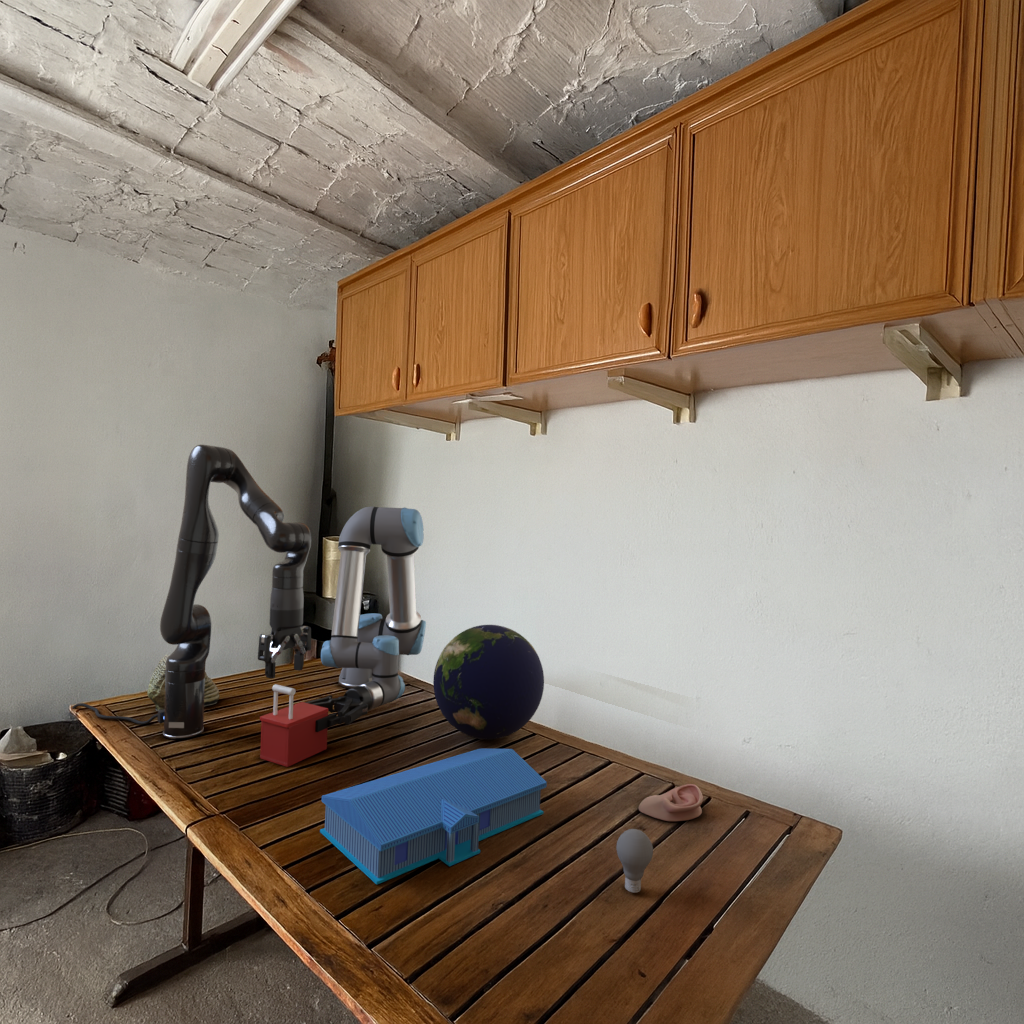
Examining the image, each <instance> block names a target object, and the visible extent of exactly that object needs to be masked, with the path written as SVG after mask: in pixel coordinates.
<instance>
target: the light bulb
mask: <svg viewBox="0 0 1024 1024" xmlns="http://www.w3.org/2000/svg"><path fill="white" fill-rule="evenodd" d="M615 849H616V854H617V857H618V859H619V861H620V863H621V865H622V867H623V873H624V874H623V875H624V876H625V878H624V888H625V890H627V891H628V892H630V893H634V894H635V893H639V892H640V891H641V889H642V887H641V886H642V879H643V877H644V875H645V871H646V868H647V867H648V866H649V864H650V863H651V861H652V859H653V855H654V847H653V843H652V841H651V838H649V836H648V835H647V834H646V833H645V832H643V831H642V830H641V829H636V828H629V829H627V830H625V831H623V832H622V833H621V834H620V835H619V837H618V839H617V841H616V847H615Z"/></svg>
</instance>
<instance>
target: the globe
mask: <svg viewBox="0 0 1024 1024" xmlns="http://www.w3.org/2000/svg"><path fill="white" fill-rule="evenodd" d="M433 671H434V672H433V680H432V681H433V682H432V683H433V693H434V697H435V701H436V704H437V707H438V709H439V710H440V712H441V714H442V715H443V717H444V718H445V720H446V721H447V722H448V723H449V724H450V725H451V726H452V727H453V728H455V730H458V731H459V732H460V733H462V734H463V735H466V736H469V737H471V738H475V739H478V740H497V739H501V738H505V737H508V736H510V735H512V734H514V733H516V732H518V731H519V730H521V729H522V728H523V727H525V725H527V724H528V723H529V722H530V720H531V719H533V717H534V715H535V714H536V712H537V711H538V708H539V706H540V704H541V701H542V699H543V694H544V689H545V675H544V668H543V665H542V662H541V659H540V656H539V655H538V652H537V651H536V649H535V647H534V646H533V645H532V644H531V642H530V641H528V639H526V638H525V637H524V636H523V635H522V634H520V633H519V632H518V631H516V630H514V629H512V628H509V627H506V626H503V625H499V624H481V625H476V626H472V627H469V628H467V629H465V630H463V631H461V632H460V633H458V634H456V635H455V636H454V637H453V638H452V639H451V640H449V642H448V643H446V645H445V646H444V647H443V649H442V651H441V652H440V654H439V656H438V659H437V661H436V663H435V667H434V670H433Z"/></svg>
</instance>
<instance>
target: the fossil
mask: <svg viewBox="0 0 1024 1024" xmlns="http://www.w3.org/2000/svg"><path fill="white" fill-rule="evenodd" d="M170 655H171V654H165V655H164V656H163V657H162V658H161V659H160V660H159V662H158V663H157V666H156V667H155V669H154V670H153V672H152V675H151V677H150V680H149V684H148V688H147V697H148V699H149V700H150V701H152V703H153V704H154V706H155V711H158V710H162V709H164V705H165V674H166V660H167V658H168V656H170ZM220 698H221V696H220V690H219V688H218V686H217V685H216V683H215V682H214V681H213V679H212V678H211V677H209V675H208V674H207V672H206V671H205V693H204V707H207V706H213V705H215V704H217V703H218V701H219V699H220Z"/></svg>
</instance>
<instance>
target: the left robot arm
mask: <svg viewBox="0 0 1024 1024" xmlns="http://www.w3.org/2000/svg"><path fill="white" fill-rule="evenodd" d="M211 483H217V484H222V483H223V484H225V485H227V486H228V487H230V488H231V489H232V490H233V491H234V492H235V493H236V495H237V498H238V499H237V500H238V504H239V508H240V510H241V511H242V512H243V514H244V515H245V516H246V517H247V518H248V520H250V522H252V524H254V525H255V526H256V527H257V529H258V531H259V534H260V535H261V538H262V540H263V542H264V543H265V546H266V547H267V548H269V550H271V551H273V552H275V553H285V556H284V558H283V559H282V560H281V561H279V562H277V563H275V564H274V565H273V566H272V572H271V591H270V596H269V597H270V599H269V601H270V602H269V626H270V628H271V631H270V633H269V634H264V633H261V634H259V636H258V649H257V660H258V661H262V662H264V675H265V678H267V679H271V680H272V679H275V678H276V663H277V662H276V660H277V658H278V656H279V655H281V654H282V653H283V651H286V650H288V649H292V650H293V652H294V653H293V654H294V655H293V669H294V670H295V671H299V672H300V671H302V670H303V668H304V666H305V665H304V664H305V663H304V662H305V654H306V653H307V652H310V651H311V650H312V628H311V626H308V625H303V624H304V602H305V599H304V597H305V595H304V570H305V568H306V567H305V566H306V564H307V561H308V557H309V554H310V550H311V547H312V532H311V530H310V528H309V527H308V525H307V524H305V523H303V522H296V521H295V522H284V519H285V513H284V510H283V509H282V508H281V507H280V506H279V505H278V504H277V503H276V502H275V501H274V500H273V498H271V497H270V496H269V495H268V494H267V493H266V492H265V491H264V490H263V489H262V488H261V487H260V486H259V484H258V483H257V481H256V480H255V478H254V477H253V476H252V475H251V473H250V471H249V470H248V469H247V467H246V466H245V464H244V463H243V461H242V460H241V459H240V457H239V455H237V454H236V453H235V451H233V450H232V449H230V448H228V447H222V446H216V445H211V444H210V445H209V444H197V445H196V446H194V447H193V448H192V450H191V451H190V452H189V455H188V458H187V464H186V472H185V491H184V501H183V502H184V503H183V509H182V515H181V516H182V517H181V523H180V528H179V533H178V537H177V544H176V550H175V557H174V564H173V567H172V572H171V579H170V585H169V589H168V593H167V595H166V599H165V604H164V606H163V610H162V613H161V617H160V622H159V631H160V635H161V637H162V639H163V641H165V643H167V644H168V645H172V646H176V647H175V649H174V650H173V652H172V653H170V654H169V655H170V656H168V658H167V660H166V674H165V705H164V709H162V710H157V713H156V714H154V715H152V716H151V717H150V718H149V719H148V720H144V721H141V720H137V719H135V718H133V717H130V716H122V715H121V716H119V715H105V714H101V713H100V712H99V709H98V708H96V707H95V706H92V705H90V704H88V703H83V702H80V703H76V704H74V705H73V706H72V707H71V709H72V710H73V709H76V708H78V707H84V708H86V709H88V710H90V711H94V713H95V716H96V717H97V718H99V719H103V720H121V721H128V722H131V723H134V724H136V725H141V726H143V725H149V724H150V723H151V722H152V721H154V720H155V719H156V718H157V720H156V721H157V722H158V723H159V724H163V731H162V737H164V738H166V739H169V740H185V739H190V738H191V739H192V738H194V737H197V736H199V735H202V734H203V732H204V730H205V729H204V722H205V721H204V718H205V706H204V693H205V672H206V664H207V663H206V662H207V658H208V657H209V654H210V649H211V639H212V617H211V614H210V612H209V610H208V609H207V608H206V607H205V606H203V605H201V604H196V603H195V599H196V595H197V592H198V590H199V588H200V586H201V584H202V583H203V581H204V580H205V578H206V576H207V575H208V573H209V571H210V570H211V569H212V566H213V564H214V563H215V560H216V556H217V551H218V546H219V545H218V544H219V540H220V531H219V528H218V524H217V522H216V520H215V518H214V515H213V513H212V510H211V508H210V507H211V506H210V502H209V497H210V486H211Z"/></svg>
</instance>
